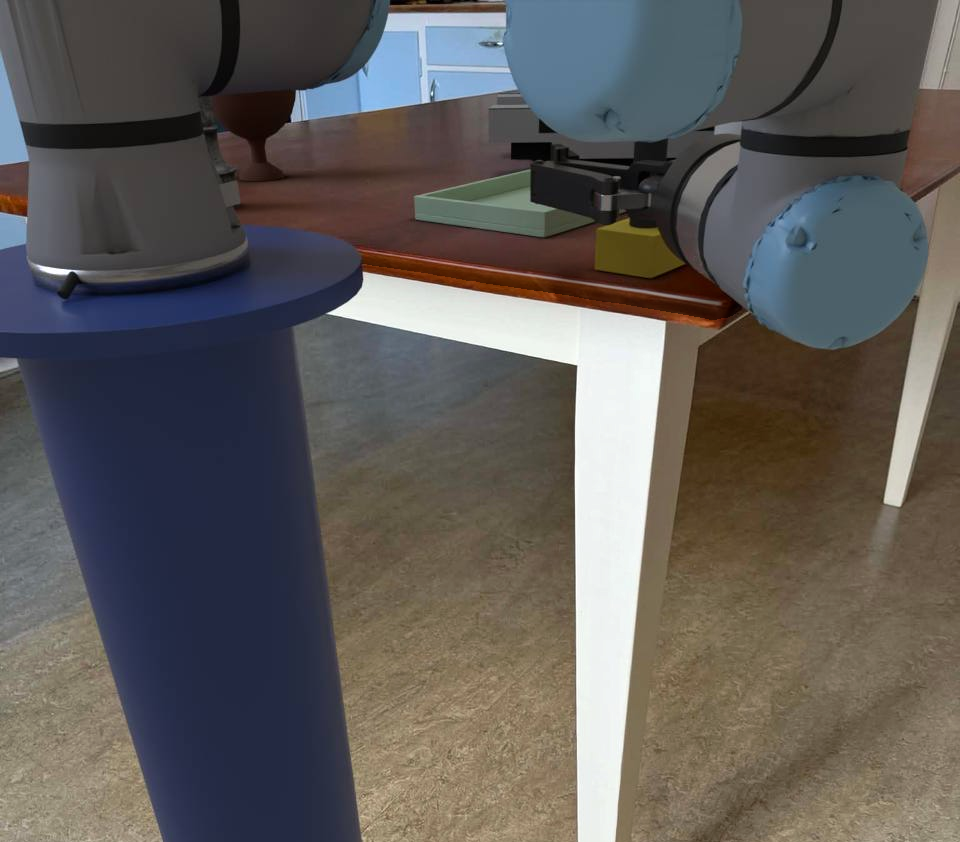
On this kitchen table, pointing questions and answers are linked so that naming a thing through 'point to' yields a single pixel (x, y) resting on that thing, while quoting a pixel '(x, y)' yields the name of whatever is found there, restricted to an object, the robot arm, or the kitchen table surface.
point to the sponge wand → (636, 234)
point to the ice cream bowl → (255, 125)
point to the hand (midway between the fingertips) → (636, 160)
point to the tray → (496, 208)
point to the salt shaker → (215, 142)
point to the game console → (535, 137)
